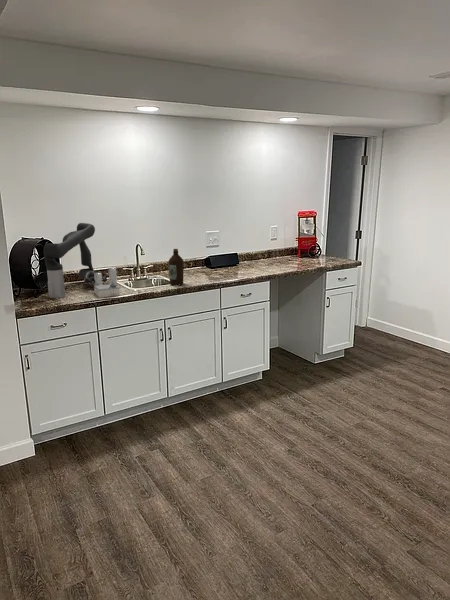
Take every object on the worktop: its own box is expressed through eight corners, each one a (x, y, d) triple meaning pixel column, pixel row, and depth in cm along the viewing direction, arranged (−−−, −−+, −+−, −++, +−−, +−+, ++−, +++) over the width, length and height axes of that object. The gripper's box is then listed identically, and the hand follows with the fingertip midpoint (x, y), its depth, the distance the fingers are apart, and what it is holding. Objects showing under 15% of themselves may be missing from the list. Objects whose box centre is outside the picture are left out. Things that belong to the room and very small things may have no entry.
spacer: (96, 292, 296) (95, 274, 293) (94, 290, 300) (93, 273, 297) (103, 291, 298) (102, 273, 295) (101, 290, 302) (100, 272, 299)
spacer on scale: (110, 287, 286) (109, 269, 283) (108, 286, 290) (107, 268, 287) (118, 287, 288) (116, 268, 285) (116, 285, 292) (114, 267, 289)
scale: (99, 297, 282) (99, 289, 281) (94, 293, 293) (94, 285, 292) (120, 295, 288) (119, 287, 287) (114, 291, 299) (114, 283, 298)
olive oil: (176, 282, 327) (175, 247, 321) (187, 284, 321) (186, 248, 314) (165, 284, 318) (164, 249, 312) (177, 286, 312) (176, 250, 306)
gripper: (81, 272, 307) (86, 276, 294) (102, 270, 314) (108, 274, 300) (82, 283, 309) (87, 288, 295) (103, 281, 316) (109, 285, 302)
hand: (98, 281), depth 298 cm, fingers open, 8 cm apart
